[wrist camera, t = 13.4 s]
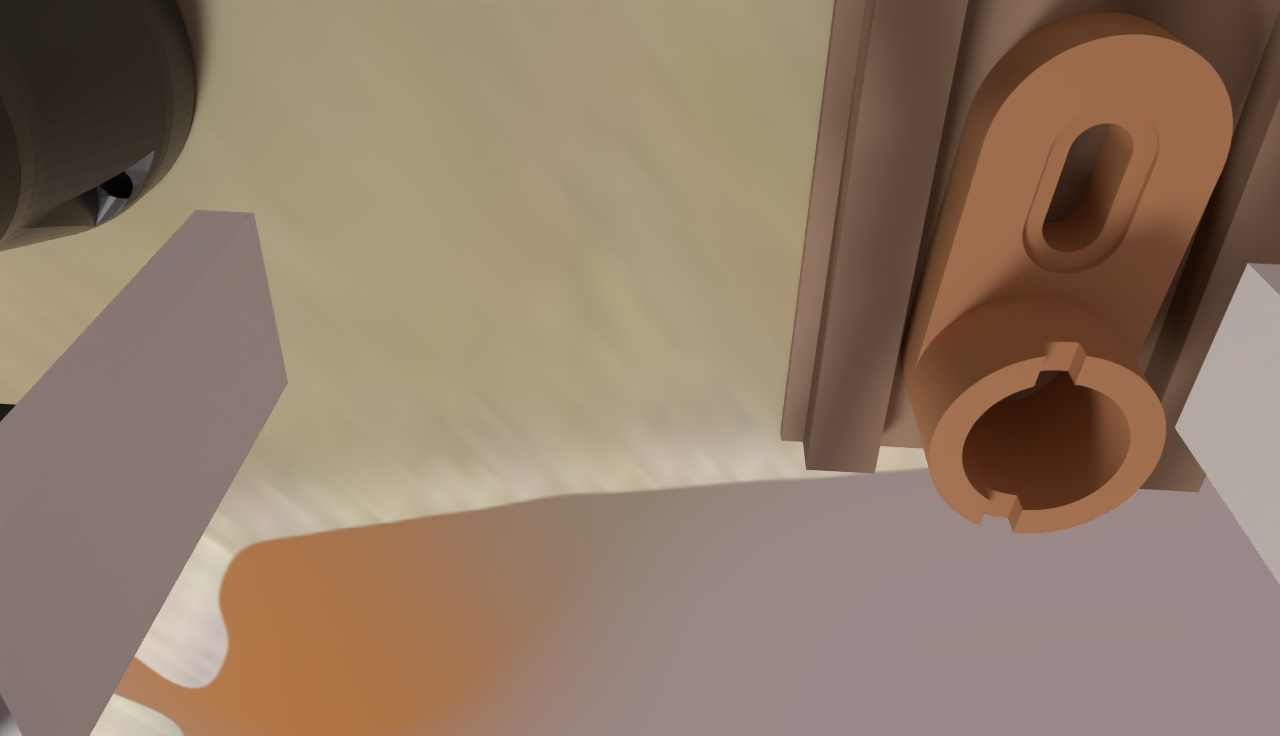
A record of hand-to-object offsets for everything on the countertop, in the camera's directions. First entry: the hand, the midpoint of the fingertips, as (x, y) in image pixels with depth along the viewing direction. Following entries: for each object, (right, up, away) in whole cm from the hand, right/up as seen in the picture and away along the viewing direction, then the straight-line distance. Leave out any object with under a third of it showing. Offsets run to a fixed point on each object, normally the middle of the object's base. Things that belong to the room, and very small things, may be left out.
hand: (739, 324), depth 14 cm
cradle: (+15, +5, +26) cm, 30 cm away
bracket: (+14, +4, +26) cm, 30 cm away
